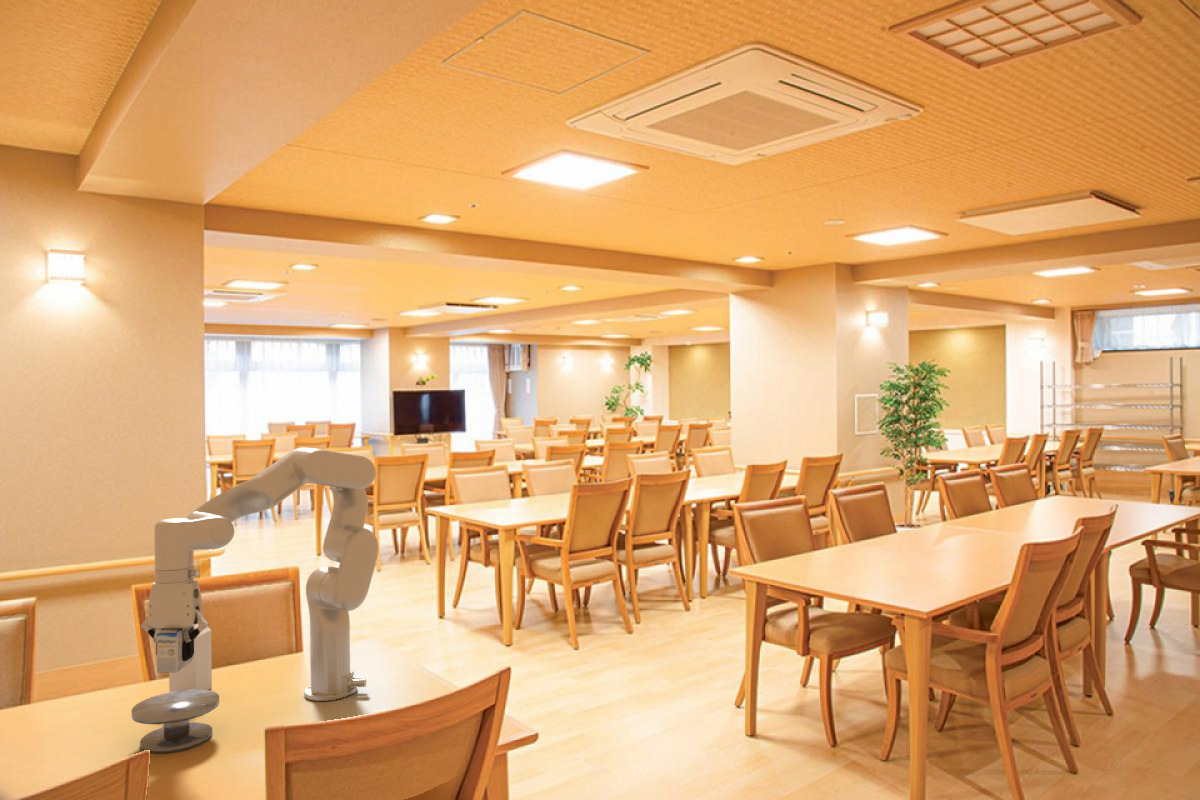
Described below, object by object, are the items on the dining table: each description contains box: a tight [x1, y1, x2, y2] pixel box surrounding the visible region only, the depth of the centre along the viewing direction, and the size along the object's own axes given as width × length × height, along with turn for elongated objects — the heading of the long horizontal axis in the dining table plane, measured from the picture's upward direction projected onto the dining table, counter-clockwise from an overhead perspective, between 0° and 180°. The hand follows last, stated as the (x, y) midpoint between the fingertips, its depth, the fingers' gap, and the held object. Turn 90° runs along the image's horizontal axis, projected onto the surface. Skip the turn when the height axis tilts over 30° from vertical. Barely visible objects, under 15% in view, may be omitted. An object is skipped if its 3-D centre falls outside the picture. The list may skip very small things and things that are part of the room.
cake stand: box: [131, 689, 220, 755], centre depth 178 cm, size 17×17×8 cm
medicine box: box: [156, 629, 193, 674], centre depth 178 cm, size 8×4×9 cm, turn 5°
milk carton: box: [168, 624, 213, 693], centre depth 207 cm, size 7×7×19 cm
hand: (175, 658), depth 178 cm, fingers closed on medicine box, 4 cm apart
